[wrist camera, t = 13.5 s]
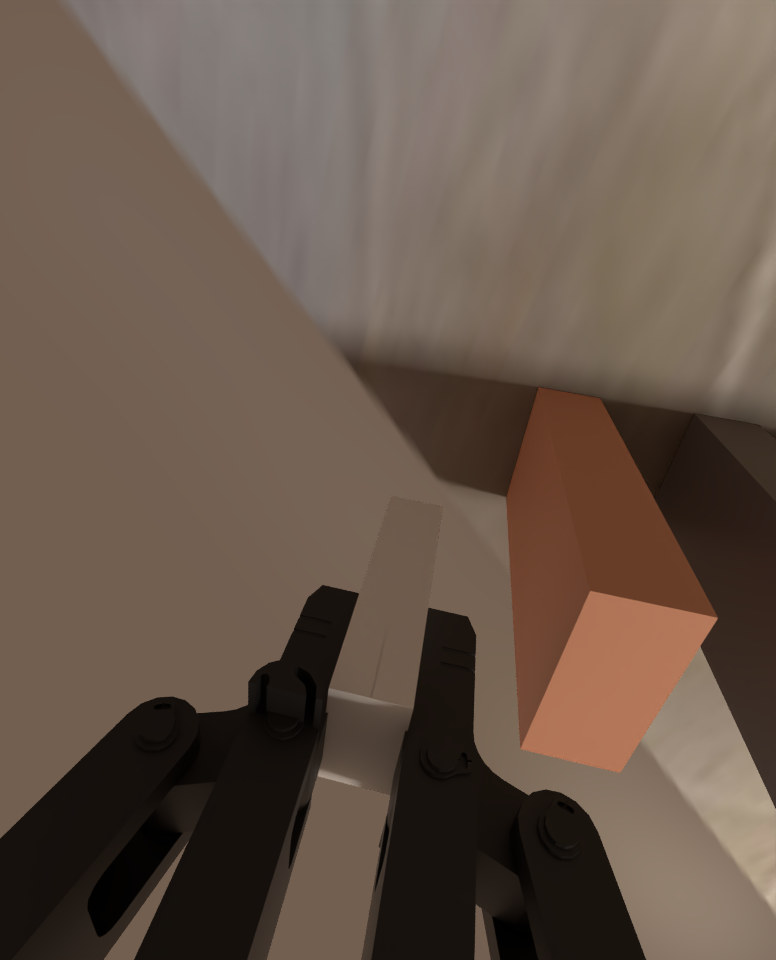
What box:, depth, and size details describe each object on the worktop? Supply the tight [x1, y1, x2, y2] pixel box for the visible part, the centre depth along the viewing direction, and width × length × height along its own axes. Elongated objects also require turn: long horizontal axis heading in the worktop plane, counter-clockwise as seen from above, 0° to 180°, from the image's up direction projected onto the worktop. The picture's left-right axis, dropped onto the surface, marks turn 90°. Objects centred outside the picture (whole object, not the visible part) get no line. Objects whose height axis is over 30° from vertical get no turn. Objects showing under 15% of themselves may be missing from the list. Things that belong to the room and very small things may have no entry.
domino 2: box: [655, 414, 776, 808], centre depth 16 cm, size 2×5×12 cm, turn 173°
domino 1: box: [506, 387, 718, 773], centre depth 16 cm, size 2×5×12 cm, turn 173°
